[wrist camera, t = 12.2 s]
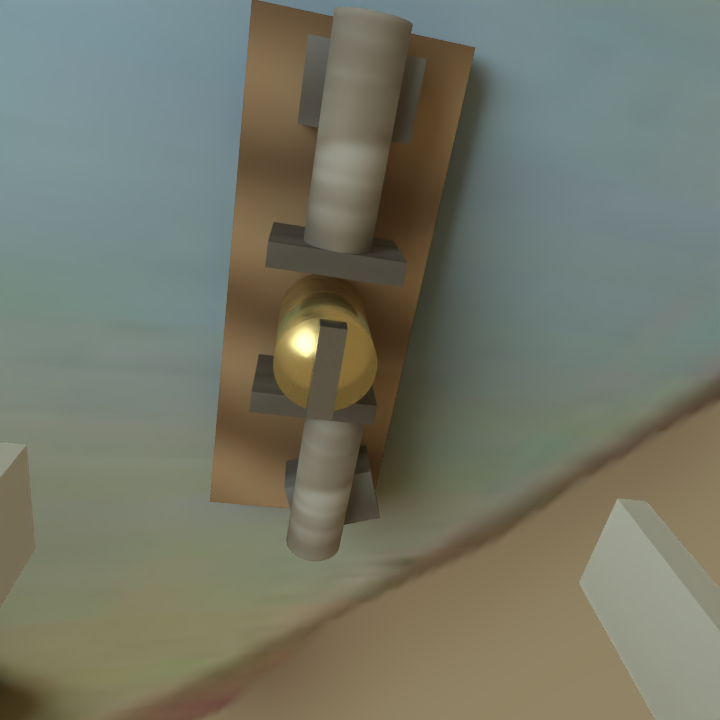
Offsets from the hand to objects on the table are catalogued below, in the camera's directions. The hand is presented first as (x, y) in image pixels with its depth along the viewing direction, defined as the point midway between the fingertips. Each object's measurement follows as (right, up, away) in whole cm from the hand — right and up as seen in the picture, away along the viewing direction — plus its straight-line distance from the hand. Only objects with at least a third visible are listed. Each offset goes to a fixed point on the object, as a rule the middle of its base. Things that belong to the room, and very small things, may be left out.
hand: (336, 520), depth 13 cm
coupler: (-1, +6, +14) cm, 15 cm away
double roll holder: (-1, +7, +16) cm, 17 cm away
